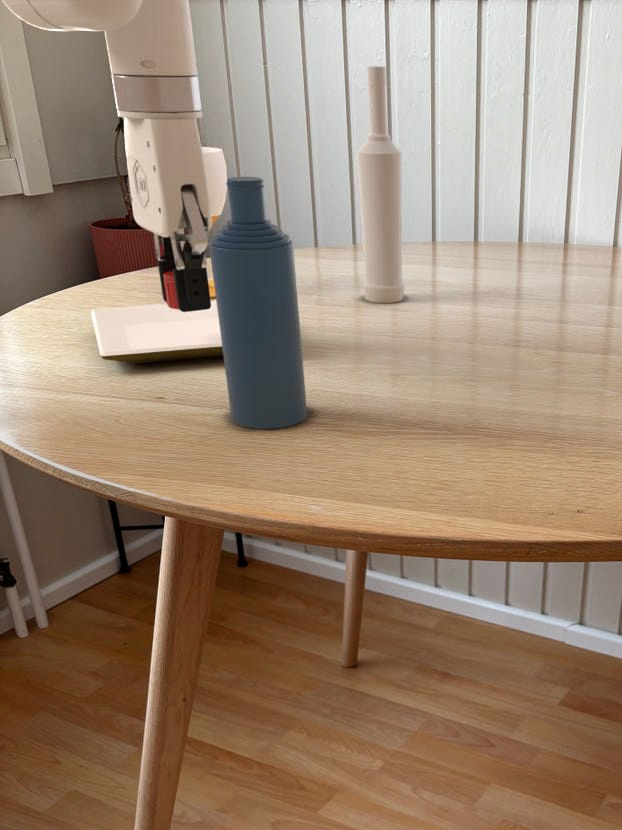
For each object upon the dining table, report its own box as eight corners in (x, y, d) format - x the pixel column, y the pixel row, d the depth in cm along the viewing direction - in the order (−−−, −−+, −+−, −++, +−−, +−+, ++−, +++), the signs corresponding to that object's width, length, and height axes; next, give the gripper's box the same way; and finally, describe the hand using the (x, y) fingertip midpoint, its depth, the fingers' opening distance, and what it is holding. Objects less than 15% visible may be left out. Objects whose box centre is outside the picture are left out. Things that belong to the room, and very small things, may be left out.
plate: (93, 327, 104) (89, 308, 103) (262, 315, 110) (260, 296, 109) (104, 375, 89) (99, 353, 88) (297, 358, 96) (295, 337, 94)
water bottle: (240, 433, 77) (209, 185, 67) (224, 409, 82) (193, 174, 72) (316, 423, 79) (297, 182, 69) (296, 400, 84) (275, 172, 74)
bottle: (402, 293, 121) (397, 66, 107) (406, 302, 116) (401, 67, 103) (362, 294, 120) (351, 65, 106) (365, 303, 116) (354, 66, 102)
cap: (190, 311, 94) (185, 279, 92) (159, 306, 95) (154, 274, 93) (215, 304, 97) (212, 272, 95) (185, 299, 98) (181, 268, 96)
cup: (247, 283, 124) (232, 147, 116) (234, 299, 117) (217, 154, 108) (178, 282, 124) (157, 145, 115) (160, 298, 116) (137, 153, 108)
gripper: (91, 94, 90) (125, 293, 100) (146, 104, 78) (179, 328, 88) (168, 94, 94) (194, 286, 103) (232, 103, 82) (254, 318, 92)
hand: (187, 303), depth 96 cm, fingers closed on cap, 3 cm apart
